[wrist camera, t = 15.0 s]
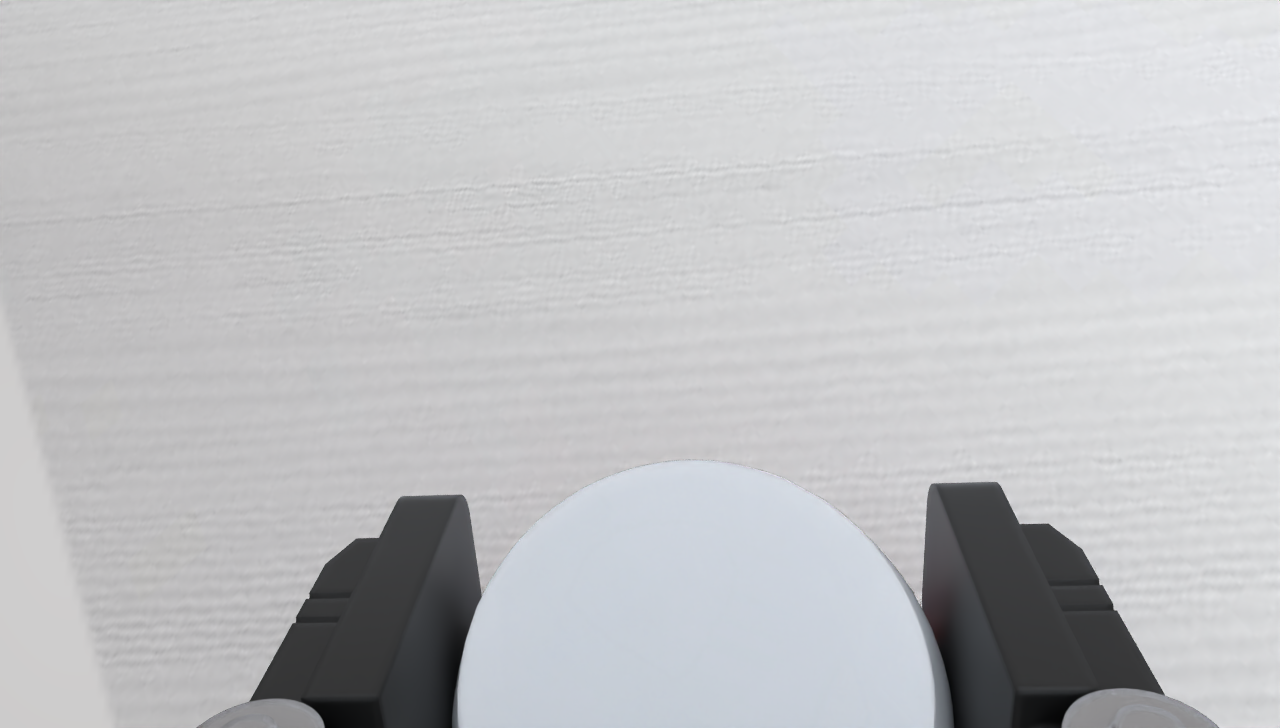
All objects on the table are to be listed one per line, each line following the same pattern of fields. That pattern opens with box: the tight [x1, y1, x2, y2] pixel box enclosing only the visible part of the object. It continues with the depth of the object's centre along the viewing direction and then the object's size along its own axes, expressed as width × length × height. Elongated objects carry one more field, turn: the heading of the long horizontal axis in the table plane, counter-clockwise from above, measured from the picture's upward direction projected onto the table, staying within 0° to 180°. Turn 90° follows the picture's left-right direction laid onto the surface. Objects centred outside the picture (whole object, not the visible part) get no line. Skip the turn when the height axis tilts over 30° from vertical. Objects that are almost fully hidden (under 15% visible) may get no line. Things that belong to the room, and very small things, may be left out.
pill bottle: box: [452, 460, 954, 728], centre depth 13 cm, size 5×5×10 cm
